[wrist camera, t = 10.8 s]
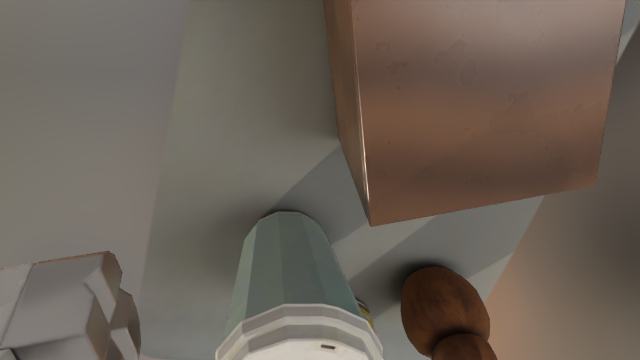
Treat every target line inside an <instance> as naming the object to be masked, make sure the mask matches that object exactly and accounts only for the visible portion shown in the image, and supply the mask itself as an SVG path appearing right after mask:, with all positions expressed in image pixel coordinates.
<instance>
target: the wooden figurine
mask: <svg viewBox="0 0 640 360" xmlns="http://www.w3.org/2000/svg"><path fill="white" fill-rule="evenodd" d="M401 317H402V323H403V326H404V330H405V332H406V334H407V337H408V339H409V340H410V342H411V343H412V344H413V346H414V347H415V348H416V349H417V350H418V352H419V353H421V354H423V355H425V356H427V357H429V358H431V359H432V360H497V357H496V355H495V353H494V351H493V350H492V348H491V346H490V345H489V343H488V342H487V340H488V338H489V334H490V321H489V320H490V319H489V316H488V313H487V310H486V308H485V306H484V304H483V302H482V300H481V298H480V296H479V294H478V292H477V290H476V289H475V288H474V287H473V286H472V285H471V284H470V283H469V282H468V281H467V280H465V279H464V278H463V277H461V276H460V275H458V274H456V273H455V272H453V271H451V270H450V269H447V268H443V267H427V268H421V269H419V270H417V271H415V272H413V273H412V274H411V275H410V276H409V277H408V278H407V279H406V281H405V283H404V285H403V288H402V292H401Z"/></svg>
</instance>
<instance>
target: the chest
mask: <svg viewBox="0 0 640 360" xmlns="http://www.w3.org/2000/svg"><path fill="white" fill-rule="evenodd" d="M323 1H324V10H325V19H326V28H327V37H328V46H329V55H330V64H331V73H332V82H333V91H334V100H335V109H336V118H337V127H338V136H339V141H340V143H341V147H342V149H343V152H344V155H345V158H346V161H347V163H348V166H349V169H350V172H351V175H352V177H353V180H354V183H355V186H356V188H357V191H358V194H359V197H360V200H361V202H362V205H363V208H364V211H365V214H366V216H367V207H366V196H365V184H364V173H363V162H362V151H361V140H360V128H359V117H358V106H357V95H356V83H355V72H354V61H353V50H352V38H351V27H350V16H349V5H348V0H323Z"/></svg>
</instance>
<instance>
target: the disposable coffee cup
mask: <svg viewBox="0 0 640 360" xmlns="http://www.w3.org/2000/svg"><path fill="white" fill-rule="evenodd" d="M382 351H383V347H382V345H381V343H380V342H379V340H378V338H377V336H376V335H375V333H374V331H373V329H372V328H371V326H370V324H369V323H368V321H367V320H365V318H364V316H363V314H362V312H361V310H360V307H359V305H358V303H357V301H356V299H355V297H354V294H353V292H352V290H351V288H350V286H349V284H348V281H347V279H346V277H345V275H344V273H343V271H342V269H341V266H340V264H339V262H338V260H337V258H336V256H335V253H334V251H333V249H332V247H331V245H330V243H329V240H328V239H327V237H326V235H325V233H324V231H323V230H322V228H321V226H320V224H318V223H317V222H316V221H315V220H313V219H311V218H309V217H308V216H306V215H304V214H302V213H300V212H286V211H278V212H275V213H273V214H271V215H268V216H266V217H264V218H262V219H259V221H258V222H257V223H256V225H255V226H254V227H253V228H252V230H251V231H250V232H249V233H248V235H247V236H246V238H245V239H244V244H243V249H242V253H241V258H240V263H239V268H238V272H237V277H236V282H235V286H234V291H233V296H232V301H231V305H230V310H229V315H228V319H227V324H226V329H225V333H224V338H223V343H222V344H221V345H220V347H219V348H218V349H217V350H216V360H384V358H383V353H382Z"/></svg>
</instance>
